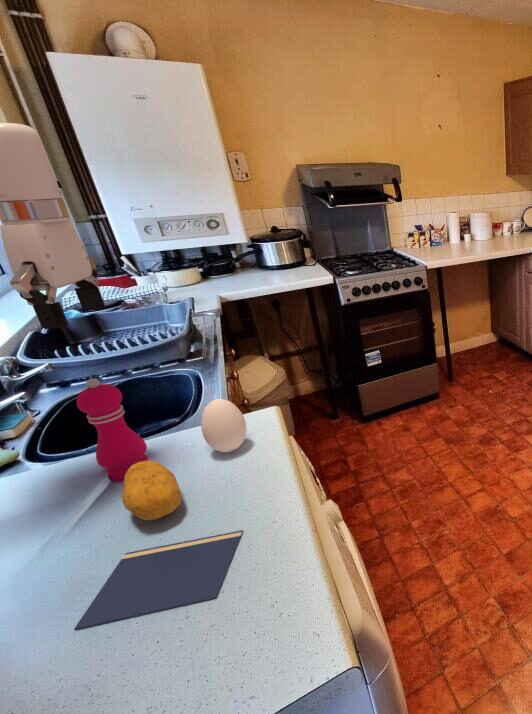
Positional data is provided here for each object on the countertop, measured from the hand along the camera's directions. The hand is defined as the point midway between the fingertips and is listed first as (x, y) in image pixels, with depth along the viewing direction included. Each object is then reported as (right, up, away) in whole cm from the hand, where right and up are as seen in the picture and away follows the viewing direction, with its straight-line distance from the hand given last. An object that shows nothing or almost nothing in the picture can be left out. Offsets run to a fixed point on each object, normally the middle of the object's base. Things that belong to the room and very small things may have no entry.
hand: (76, 318), depth 73 cm
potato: (+12, -33, +2) cm, 35 cm away
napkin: (+24, -37, -11) cm, 45 cm away
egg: (+15, -27, +17) cm, 35 cm away
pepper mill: (-1, -29, +11) cm, 32 cm away
